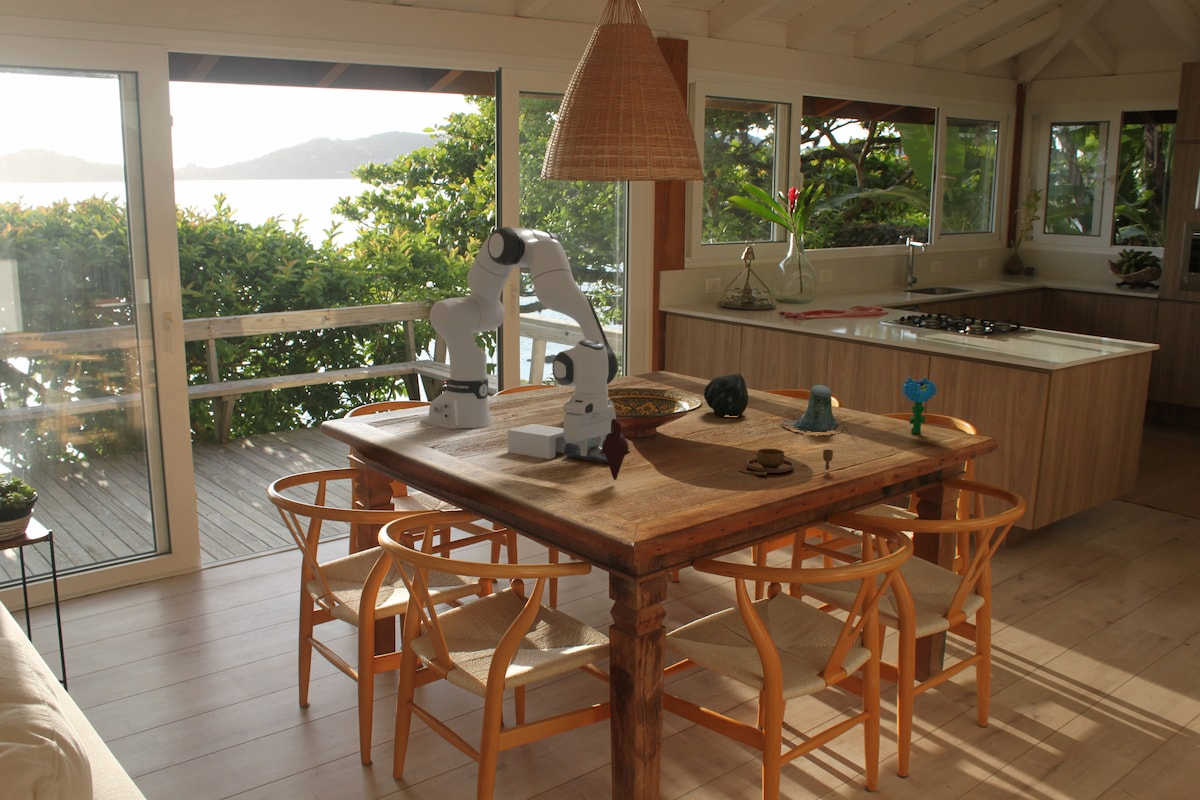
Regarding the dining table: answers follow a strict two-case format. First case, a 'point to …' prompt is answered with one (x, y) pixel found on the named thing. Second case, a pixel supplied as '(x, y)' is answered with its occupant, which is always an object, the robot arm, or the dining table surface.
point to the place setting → (777, 461)
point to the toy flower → (918, 399)
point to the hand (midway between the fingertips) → (590, 453)
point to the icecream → (615, 448)
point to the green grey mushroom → (817, 412)
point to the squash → (727, 395)
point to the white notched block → (536, 440)
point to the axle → (594, 455)
